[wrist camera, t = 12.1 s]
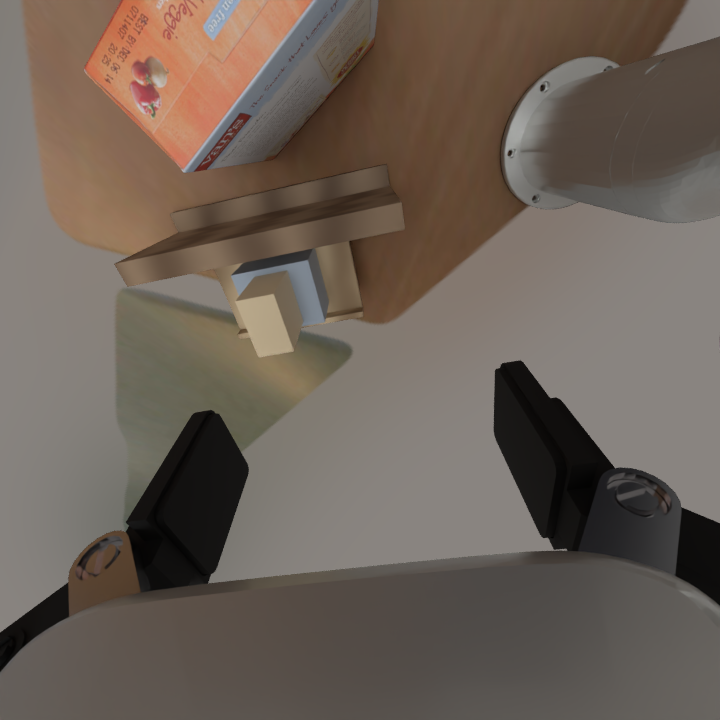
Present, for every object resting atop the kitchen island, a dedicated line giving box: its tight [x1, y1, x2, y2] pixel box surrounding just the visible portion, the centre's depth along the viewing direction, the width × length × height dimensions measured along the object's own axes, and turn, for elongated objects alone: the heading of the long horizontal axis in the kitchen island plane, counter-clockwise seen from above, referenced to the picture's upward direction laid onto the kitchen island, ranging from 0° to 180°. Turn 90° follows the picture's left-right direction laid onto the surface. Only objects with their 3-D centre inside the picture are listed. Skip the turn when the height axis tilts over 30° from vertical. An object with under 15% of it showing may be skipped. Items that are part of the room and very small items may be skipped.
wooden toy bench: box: [114, 164, 405, 339], centre depth 34 cm, size 24×13×13 cm, turn 101°
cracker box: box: [84, 0, 379, 173], centre depth 23 cm, size 14×6×21 cm, turn 130°
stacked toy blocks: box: [231, 248, 329, 357], centre depth 30 cm, size 7×6×10 cm
